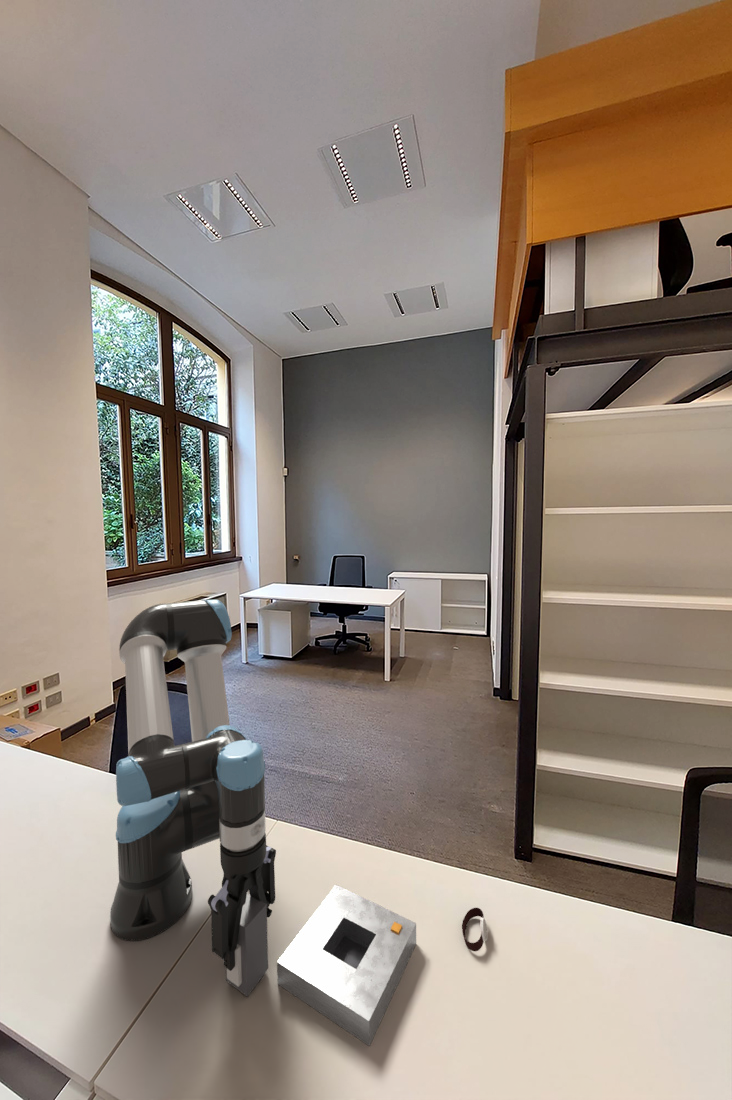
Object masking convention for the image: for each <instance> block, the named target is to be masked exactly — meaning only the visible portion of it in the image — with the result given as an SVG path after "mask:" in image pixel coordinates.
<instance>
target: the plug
mask: <svg viewBox="0 0 732 1100" xmlns="http://www.w3.org/2000/svg"><path fill="white" fill-rule="evenodd" d="M239 926H240V928H239V935H238V942H237V944H238V945H240V946H241V971H242V983H241V985H240V986H239V987H238V986H236V985H235V984H234V983H232V982H231V981H230V980H228V979H227V968H226V967H225V966H224V969H225V981H226V982H227V983H228V984H230V985H231V986H233V987H234V988H236V989H237V991H239V992H240V993H242V994H243V995H244V996H246V997H248V996H249V995H250V993H251V992H252V991H253V989H254V988H255V987H256V986H257V984H258V983H259V982H260V980H261V979H262V978H263V976H264V975H265V974H266V973H267V971H268V970H269V949H268V948H269V947H268V917H267V905H266V904H265V903H264V902H262V901H259V900H257V899H255V898H253V897H252V896H250V893H249V892H247V896H246V902H245V904H244V905H243V907H242V914H241V921H240V924H239Z"/></svg>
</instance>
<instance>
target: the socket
mask: <svg viewBox="0 0 732 1100" xmlns="http://www.w3.org/2000/svg"><path fill="white" fill-rule="evenodd" d="M416 946H417V923H416V922H414V921H413V920H410V919H409V918H406V917H405V916H403V915H400V914H398V913H396V912H394V911H393V910H390V909H388V908H386V907H383V906H381V905H379V904H377V903H375V902H373V901H371V900H369V899H367V898H365V897H364V896H360V895H359V894H356V893H354V892H353V891H351V890H349V889H346V888H344V887H342V886H340V885H338V884H334V886H333V887H332V888H331V890H330V891H329V893H328V894H327V895H326V896H325V898H324V899H323V901H321V903H320V905H319V906H318V908H316V910H315V911H314V913H313V914H312V915H311V917H309V919H308V921H307V922H306V923H305V924H304V926H303V927H302V928H301V929H300V931H299V933H298V934H296V936H295V938H294V939H293V940H292V941H291V943H290V944H289V945H288V946H287V948H286V949H285V951H284V953H282V955H281V956H280V957H279V959H278V960H277V962H276V969H277V970H276V971H277V972H276V973H277V974H276V975H277V985H278V986H280V987H281V988H282V989H284V990H286V991H288V992H289V993H290V994H292V995H293V996H295V997H296V998H298V1000H300V1001H302V1002H304V1003H305V1004H307V1005H308V1006H309V1007H310V1008H313V1009H314V1010H315V1011H316V1012H318V1013H319V1014H321V1015H322V1016H324V1017H326V1018H327V1019H329V1021H332V1022H333V1023H335V1024H336V1025H337V1026H339V1027H340V1028H342V1029H344V1030H345V1031H346V1032H348V1033H349V1034H351V1035H352V1036H354V1037H355V1038H357V1039H358V1040H359V1041H361V1042H363V1043H364V1044H365V1045H367V1046H369V1047H370V1046H371V1044H372V1041H373V1039H374V1037H375V1035H376V1033H377V1031H378V1029H379V1026H380V1024H381V1022H382V1020H383V1018H384V1015H385V1013H386V1011H387V1008H388V1007H389V1004H390V1002H391V1000H392V998H393V995H394V993H395V992H396V989H397V987H398V985H399V982H400V980H401V978H402V976H403V973H404V972H405V969H406V968H407V965H408V962H409V961H410V959H411V956H412V955H413V952H414V949H415V948H416Z"/></svg>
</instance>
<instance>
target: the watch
mask: <svg viewBox="0 0 732 1100" xmlns="http://www.w3.org/2000/svg"><path fill="white" fill-rule="evenodd" d="M475 917H480V918H479V920H480V923H479V924H480V926H479V927H480V937H479V939H478V940H477V941H475V942H470V941H468V940H467V939H466V935H467V934H466V931H467V928H468V923H469V922H470V921H471V920H472V919H473V918H475ZM461 930H462V936H463V939H464V943H465V947H466V948H467V949H468V950H470V951H471V952H477V951H480V950H481V949H482V947H483V945H484V943H485V942H486V941H488V927H487V922H486V919H485V915H484V912H483V910H482V909H481V908H480V907H473V908H470V909H469V910H468V911H467V912H466V914H465V916H464V917H463V919H462V923H461Z"/></svg>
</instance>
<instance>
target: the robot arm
mask: <svg viewBox="0 0 732 1100" xmlns="http://www.w3.org/2000/svg"><path fill="white" fill-rule="evenodd" d="M232 633H233V632H232V624H231V618H230V616H229V612H228V610H227V608H226V605H225V604H224V603H223V602H222V601H221V600H219V599H204V598H203V599H201V600H200V599H199V600H191V601H179V602H170V603H165V602H164V603H159V604H153V605H152V606H149V607H147V608H145V609H144V610H142V611H140V613H138V614H137V615H135V617H134V618H132V620H131V621H129V623H128V625H127V626H126V627H125V629H124V631H123V633H122V635H121V638H120V643H119V648H118V649H119V650H118V651H119V659H120V660H121V662H122V663H123V664H124V665H125V668H124V670H125V672H124V673H125V690H126V691H125V694H126V695H125V696H126V698H125V699H126V721H127V722H126V724H127V747H128V748H127V751H128V756H126V757H124V758H121V759H119V760H118V761H117V762H116V766H115V767H116V769H115V770H116V771H115V781H116V782H115V783H116V785H115V786H116V800H117V804H118V805H120V806H121V808H120V809H119V812H118V813H117V818H116V832H115V840H116V841H117V859H118V860H117V862H118V863H117V865H118V883H117V886H116V890H115V894H114V899H113V901H112V904H111V907H110V915H109V917H110V919H109V920H110V928H111V930H112V932H113V934H114V935H115V936H116V937H117V938H119V939H121V940H124V941H142V940H146V939H148V938H149V939H150V938H152V937H154V936H157V935H159V934H161V933H163V932H164V931H166V930H168V929H169V928H170V927H172V926H173V925H174V924H176V923H177V921H179V920H180V919H181V918H182V916H184V914H185V913H186V911H187V910H188V908H189V906H190V904H191V902H192V899H193V882H192V877H191V876H190V873H189V871H188V868H187V867H186V864H185V862H184V860H183V852H186V851H189V850H191V849H195V848H198V847H200V846H203V845H206V844H209V843H211V842H213V841H216V840H217V841H218V840H219V849H220V850H219V851H220V853H219V855H220V866H221V868H222V871H223V877H222V881H221V888H220V889H219V891H218V892H217V894H216V895H215V894H211V895H210V896H209V897H208V899H207V903H208V906H209V908H210V913H211V914H210V919H211V923H210V925H211V952H212V953H213V954H214V955H216V956H217V957H219V958H220V959H222V960H223V967H224V968H225V967H226V968H227V979H228V980H230V981H231V982H232V983H234V984H235V985H236V986H238V987H239V986H240V985H241V983H242V971H241V946H240V945H238V944H237V942H238V935H239V928H240V926H239V924H240V921H241V914H242V907H243V905H244V904H245V902H246V896H247V893H248V894H250V896H252V897H253V898H255V899H257V900H259V901H262V902H264V903H265V904H266V905H267V919H268V918H270V917H271V915H272V913H273V910H272V909H271V908H269V907H270V905H274V904H275V901H276V879H275V878H276V877H275V874H276V873H275V860H276V855H277V853H276V852H277V849H275V848H273V847H271V846H268V845H267V833H266V827H267V826H266V791H265V788H266V786H265V783H266V782H265V780H266V779H265V771H266V762H265V757H264V749H263V747H262V745H261V744H260V743H258V742H254V740H251V739H246V736H245V735H244V734H243V733H242V732H241V731H240V730H239V729H238V728H236V727H235V726H233V725H230V723H231V722H230V718H229V716H230V715H229V709H228V708H229V707H228V700H227V694H226V684H225V676H224V668H223V660H222V655H223V653H224V652H225V651H226V650H227V643H229V642H230V641H231V639H232V636H233V635H232ZM174 650H176V656H177V658H178V659H180V660H181V661H182V662H184V670H185V678H186V691H187V702H188V710H189V721H190V722H189V723H190V732H191V733H190V734H191V741H190V742H187V743H182V744H178V745H175V741H174V733H173V725H172V724H173V723H172V718H171V717H172V716H171V710H170V709H171V707H170V699H169V694H168V685H167V677H166V671H165V662H164V657H165V655H166V654H167V651H174ZM226 968H225V969H226Z"/></svg>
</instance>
